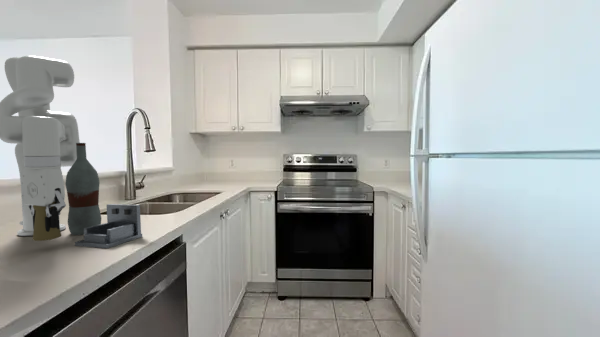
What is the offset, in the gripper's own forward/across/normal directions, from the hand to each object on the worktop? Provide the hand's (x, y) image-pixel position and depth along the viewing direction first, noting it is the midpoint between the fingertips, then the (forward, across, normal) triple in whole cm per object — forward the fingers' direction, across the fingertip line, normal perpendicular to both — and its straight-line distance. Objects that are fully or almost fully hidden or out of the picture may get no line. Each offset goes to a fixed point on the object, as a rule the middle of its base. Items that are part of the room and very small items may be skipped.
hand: (46, 228), depth 82 cm
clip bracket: (+5, +10, +10) cm, 16 cm away
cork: (+3, 0, 0) cm, 3 cm away
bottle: (+7, -9, +17) cm, 20 cm away
